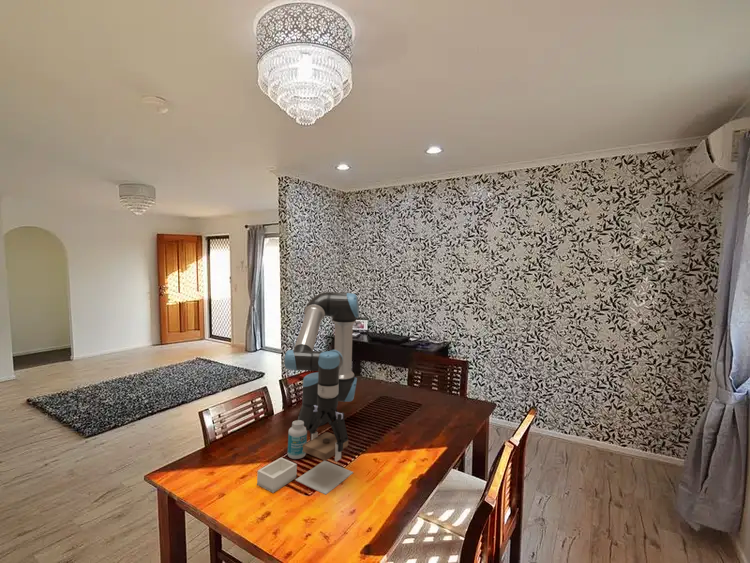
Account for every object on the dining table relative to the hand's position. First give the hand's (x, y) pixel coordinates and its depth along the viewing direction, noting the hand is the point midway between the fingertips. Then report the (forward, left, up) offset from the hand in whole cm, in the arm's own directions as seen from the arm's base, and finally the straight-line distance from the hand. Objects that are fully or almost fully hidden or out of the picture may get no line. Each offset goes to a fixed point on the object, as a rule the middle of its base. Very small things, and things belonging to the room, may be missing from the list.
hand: (325, 454), depth 132 cm
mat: (0, 0, -8) cm, 8 cm away
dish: (-12, -12, -8) cm, 19 cm away
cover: (0, 0, +2) cm, 2 cm away
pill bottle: (-19, +5, -8) cm, 21 cm away
